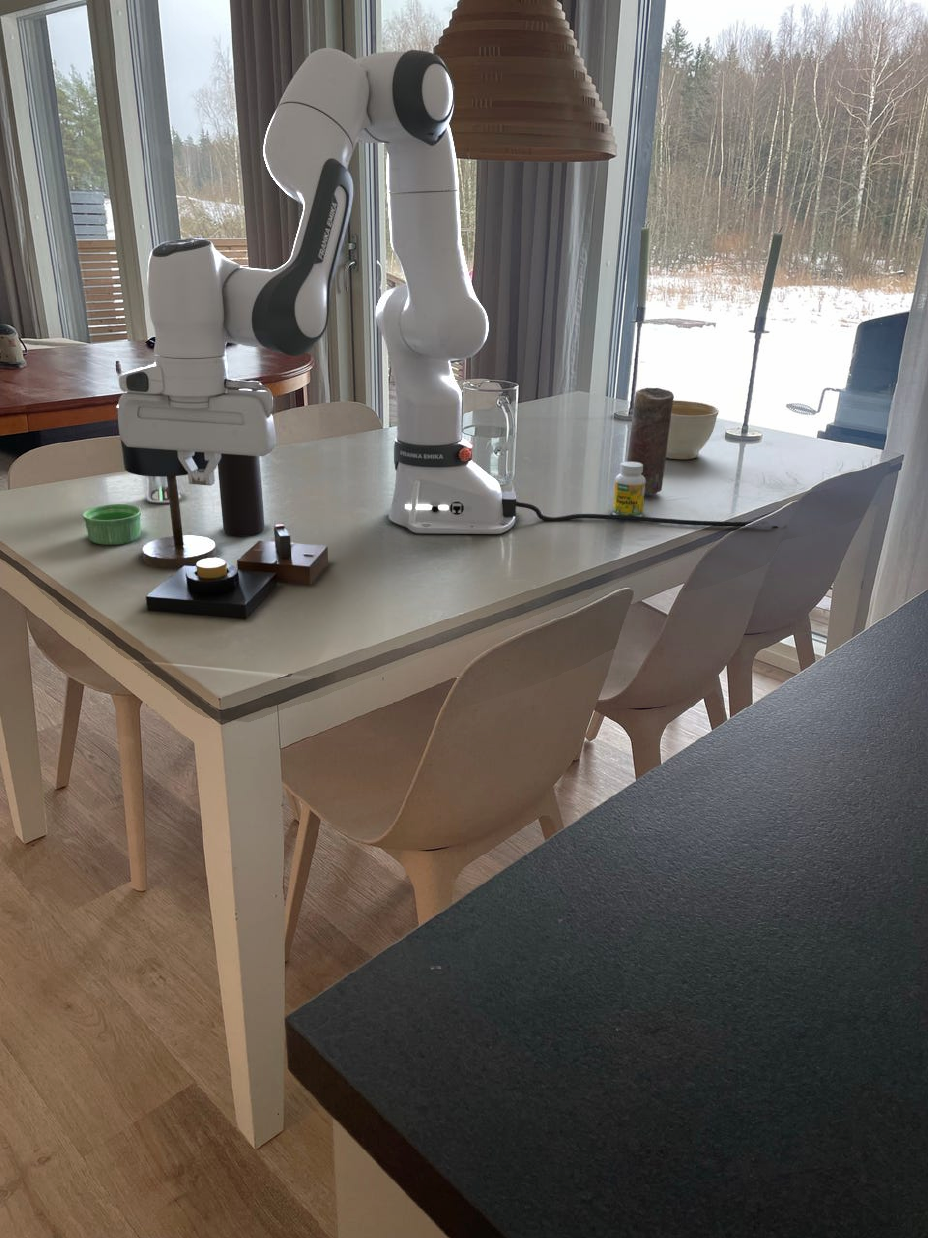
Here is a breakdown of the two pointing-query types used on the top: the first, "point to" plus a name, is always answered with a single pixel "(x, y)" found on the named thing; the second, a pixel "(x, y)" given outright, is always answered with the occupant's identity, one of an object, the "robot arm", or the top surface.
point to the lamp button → (211, 568)
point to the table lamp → (178, 546)
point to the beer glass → (159, 490)
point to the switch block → (212, 593)
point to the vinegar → (241, 494)
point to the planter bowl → (689, 428)
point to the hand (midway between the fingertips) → (202, 483)
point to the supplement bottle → (629, 490)
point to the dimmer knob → (282, 541)
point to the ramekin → (113, 523)
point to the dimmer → (286, 562)
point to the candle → (651, 435)
